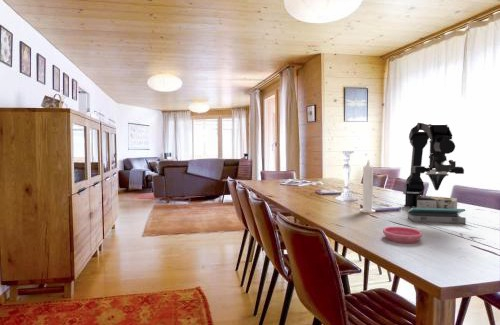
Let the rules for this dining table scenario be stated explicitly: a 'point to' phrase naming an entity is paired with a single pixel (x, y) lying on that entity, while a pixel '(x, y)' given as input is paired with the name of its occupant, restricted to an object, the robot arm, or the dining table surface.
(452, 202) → the coffee box
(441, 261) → the dining table surface
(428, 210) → the cover
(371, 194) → the candle
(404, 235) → the saucer
